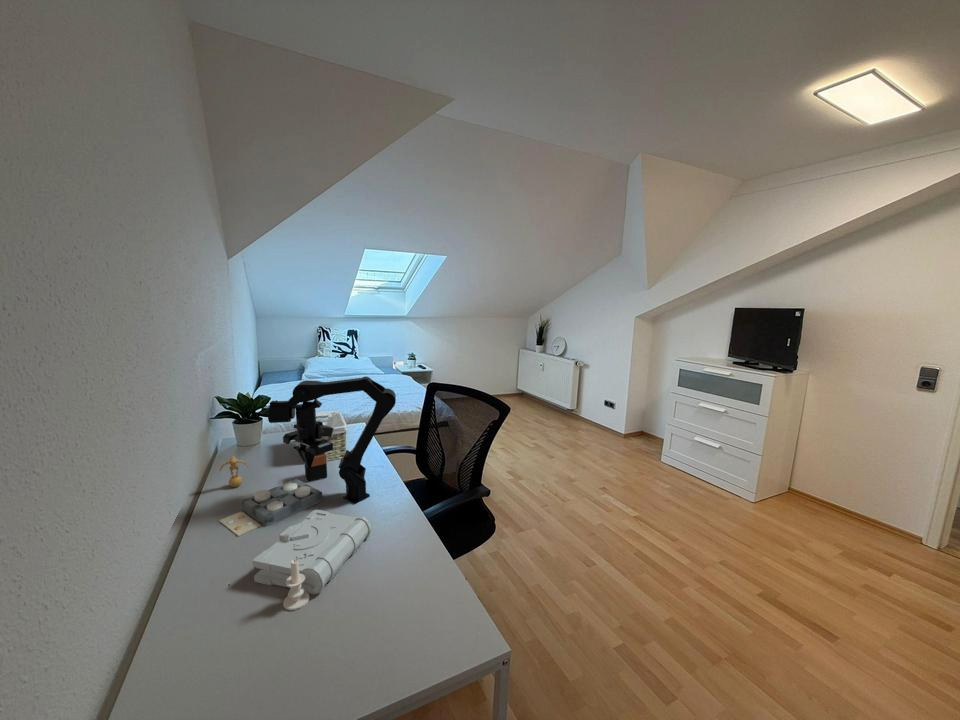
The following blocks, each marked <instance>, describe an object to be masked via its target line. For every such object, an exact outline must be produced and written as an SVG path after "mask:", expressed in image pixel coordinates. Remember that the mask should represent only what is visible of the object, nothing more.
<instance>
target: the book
mask: <svg viewBox="0 0 960 720" xmlns="http://www.w3.org/2000/svg"><path fill="white" fill-rule="evenodd" d="M371 533H372V525H371V523H370V521H369V520H368V519H367V518H366V517H365V516H359V515H358V516H355V517H354V516H348V515H343V514H337V513H330V512H329V511H326V510H320V509H314V510H312V511H311V512H310V513H309V514H307V515H306V516H305V518H304V520H302V521H301V522H300V523H297V524H295V525H292V524H291V525H290V526H289V527H287V528H286V529H284V531H282V532H281V533H280V534H279V538H278V539H279V540H278V541H276V543H274V544H273V545H272V546H271V547H269V548H266V549H265V550H264V551H262V552H260V554H257V555H256V557H254V559H252V566H253V568H257V569H259V570H258V571H257V572H256V573H255V575H254V576H253V580H254V581H253V582H255V583H259V584H261V585H267V586H272V585H275V586H280V587H284V588H288V589H289V588H290V587H289V586H287V585H286V580H287V578H289V577H290V576H291V561H292V560H294V559H295V560H298V564H299V574H303V575H304V576H305V580H304V581H303V582H302V583H301V587H303V588H304V591H306V592H308V593H309V595H319V594H320V593H322V591H323V590H324V588H325V586H326V585H327V583H328V582H330V581H332V580H333V578H334V577H335V576H336V574H337V573H339V571H340V570H341V568H342V566H343V565H344V564H345V562H347V560H348V559H349V557H351V556H353V555H354V554H355V553H356V551H358V549H359V548H360V547H361V546H362V545H363V543H364V541H365V540H367V539H369V537H370V536H371Z"/></svg>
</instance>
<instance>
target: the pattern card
mask: <svg viewBox="0 0 960 720" xmlns="http://www.w3.org/2000/svg"><path fill="white" fill-rule="evenodd" d="M219 522H220V523H221V524H222V525H223V526H224V527H226V528H228V530H230V531H231V532H233V534H235V535H236V536H237V537H240V536H243V535H244V534H246V533H249V532H251V531H253V530H255V529H258V528H260V527H261V524H260V523H258V522H257V521H256V520H254V519H252V518H251V517H250V516H248V515H247V514H246V513H244V512H243V511H239V512H236V513H234V514H231V515H229V516H227V517H224V518H222V519H219Z"/></svg>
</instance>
